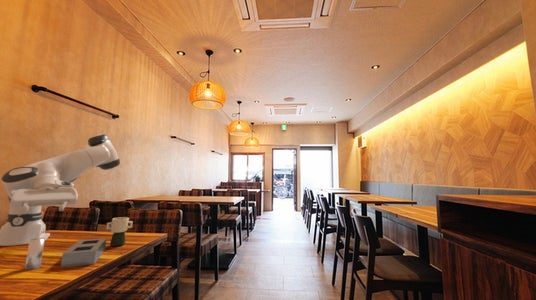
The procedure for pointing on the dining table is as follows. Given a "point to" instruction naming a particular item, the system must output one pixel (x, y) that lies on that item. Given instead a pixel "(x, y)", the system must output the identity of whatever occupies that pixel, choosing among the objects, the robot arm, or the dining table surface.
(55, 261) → the dining table surface
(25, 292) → the dining table surface
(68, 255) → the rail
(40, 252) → the steel pin
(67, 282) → the dining table surface
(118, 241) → the character mug
